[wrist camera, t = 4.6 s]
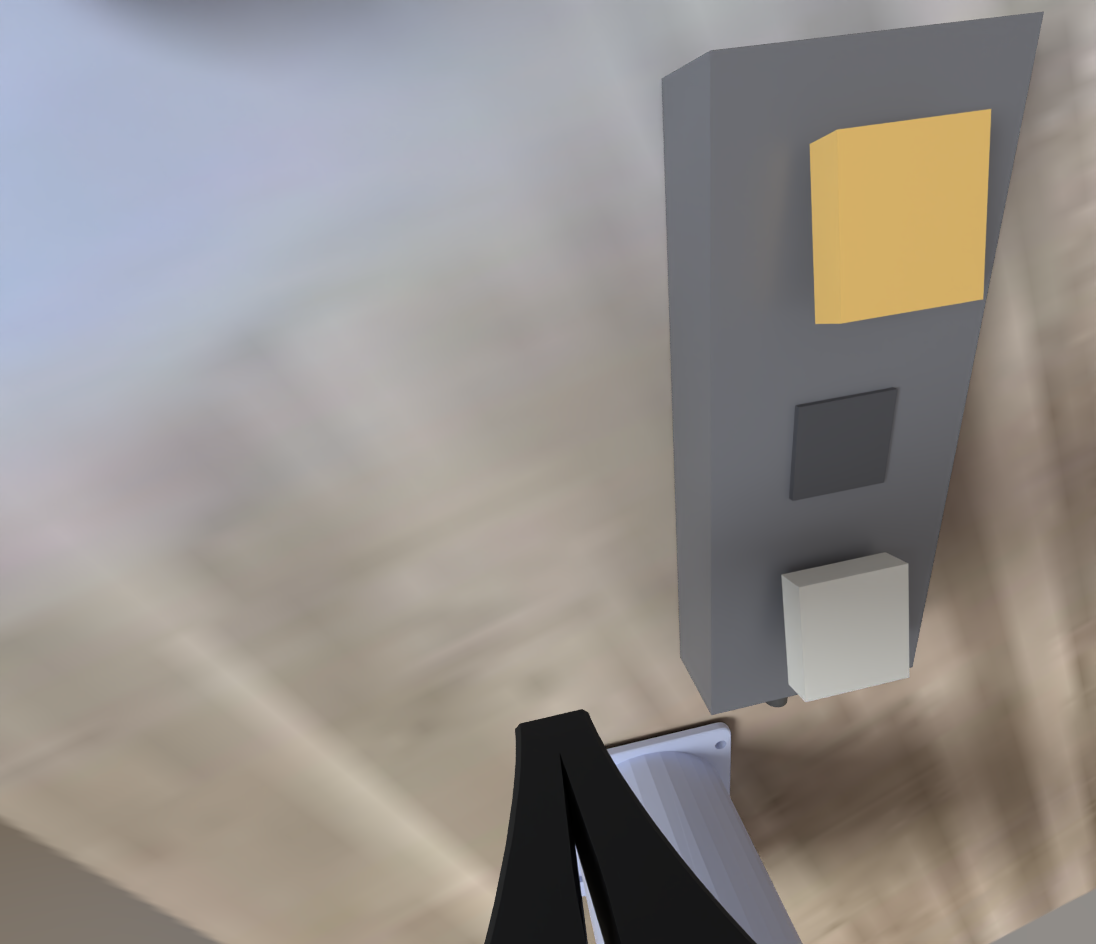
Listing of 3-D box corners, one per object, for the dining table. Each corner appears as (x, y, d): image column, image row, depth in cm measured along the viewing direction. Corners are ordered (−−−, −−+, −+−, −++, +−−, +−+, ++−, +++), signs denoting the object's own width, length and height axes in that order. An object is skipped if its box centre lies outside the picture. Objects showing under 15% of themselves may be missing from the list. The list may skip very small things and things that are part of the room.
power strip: (852, 669, 26) (904, 727, 23) (682, 709, 25) (713, 774, 22) (941, 44, 16) (1052, 8, 13) (661, 78, 15) (714, 48, 12)
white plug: (887, 660, 20) (909, 677, 19) (788, 684, 19) (805, 702, 18) (885, 551, 19) (908, 563, 18) (781, 574, 18) (798, 587, 17)
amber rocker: (948, 301, 15) (983, 299, 14) (815, 323, 14) (841, 323, 13) (953, 124, 13) (990, 108, 13) (809, 144, 13) (837, 129, 12)
